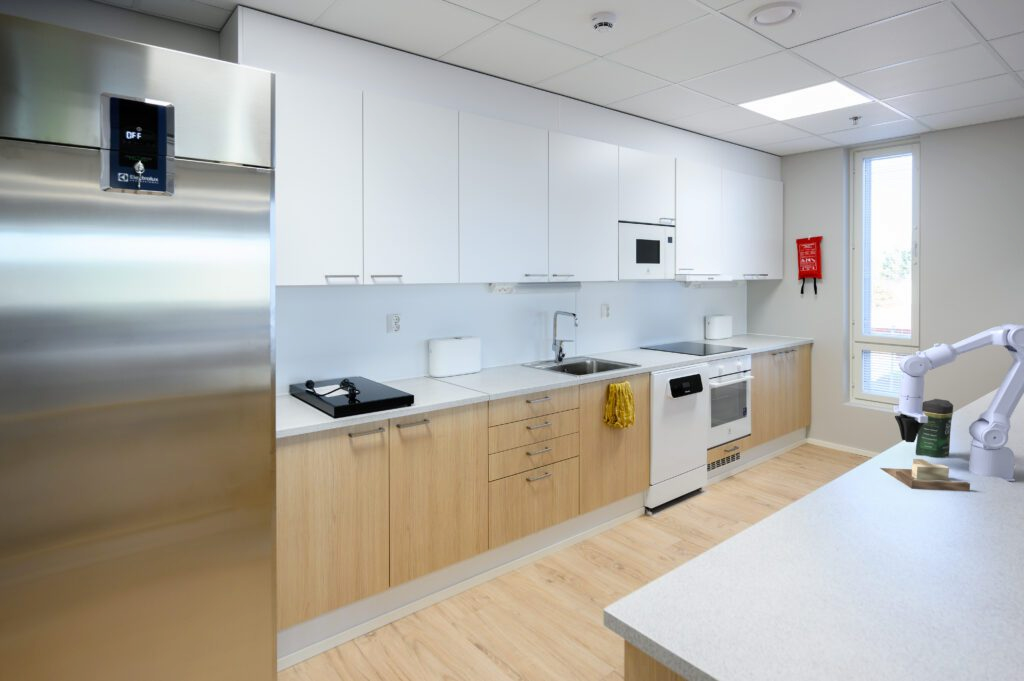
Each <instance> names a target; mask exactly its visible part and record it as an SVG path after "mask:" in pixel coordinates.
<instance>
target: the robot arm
mask: <svg viewBox="0 0 1024 681" xmlns="http://www.w3.org/2000/svg"><path fill="white" fill-rule="evenodd" d="M990 345H991V346H1001V347H1002V346H1003V347H1004V348H1005V349H1007V351H1008V353H1009V354H1010V356H1011V357H1012V358H1013V362H1012V363H1011V365H1010V367H1009V369H1008V371H1007V372H1006V374H1005V377H1004V378H1003V380H1002V381H1001V383H1000V385H999V387H998V389H997V391H996V393H995V395H994V396H993V398H992V400H991V402H990V404H989V406H988V407H987V409H986V410H985V411H984V412H982V413H980V415H979V416H978V418H977V419H975V420H974V421H972V422H971V423H970V425H969V427H968V433H969V434H970V436H971V438H972V440H971V441H970V450H969V462H968V471H969V472H970V473H972V474H976V475H978V476H979V475H980V476H985V477H990V478H991V477H993V478H995V477H997V478H1001V479H1003V480H1004V481H1007V482H1015V481H1016V479H1015V478H1014V473H1015V472H1014V471H1015V462H1016V461H1015V460H1016V459H1015V454H1014V451H1013V450H1012V449H1011V448H1010V447H1007V446H1006V445H1007V443H1008V440H1009V431H1010V429H1011V420H1010V418H1011V417H1012V415H1013V413H1014V412H1015V410H1016V408H1017V406H1018V404H1019V402H1020V400H1021V399H1022V398H1023V395H1024V325H1022V324H1021V325H1020V324H1015V323H1010V322H1009V323H1008V322H1007V323H1002V325H1000V326H998V325H997V326H994V327H991V328H989V329H985V330H984V331H981V332H979V333H977V334H975V335H972V336H969V337H966V338H965V339H962V340H960V341H957V342H955V343H953V344H949V343H948V344H947V343H937V342H936V343H934V344H933V347H930V348H928V349H925V350H922V351H920V350H917V351H916V352H915V354H908V355H905V356H904V357H902V359H901V360H900V362H899V363H898V367H899V369H900V370H901V374H900V375H901V377H900V378H901V379H900V382H899V383H900V384H899V385H900V386H899V400H898V401H899V402H898V405H895V404H894V405H893V412H894V413H897V414H899V415H894V419H895V421H896V422H897V424H898V427H899V428H898V429H899V432H900V437H901V440H902V441H905V442H906V443H915V441H916V440H917V435H918V432H919V430H920V428H921V427H922V426H923V424H924V423H927V422H928V416H926V415H925V414H924V413H923V412H922V406H923V402H924V391H925V390H924V388H925V375H926V374H927V373H928V371H932V370H934V369H937V368H940V367H943V366H946V365H947V364H951V363H953V362H955V360H956V359H957V357H958V356H959V355H960V356H961V355H962V354H965V353H969V352H971V351H973V350H977V349H981V348H984V347H987V346H990Z"/></svg>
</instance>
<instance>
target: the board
mask: <svg viewBox="0 0 1024 681" xmlns="http://www.w3.org/2000/svg"><path fill="white" fill-rule="evenodd" d="M879 469H880V470H881V471H883V472H885V473H887V474H888V475H890V476H891V477H893V478H894V479H896V480H897V481H899V482H900V483H902V484H904V485H905V486H906V487H908V488H910V489H911V490H912V489H915V490H930V491H932V490H934V491H954V492H970V491H971V483H970V482H968V481H953V480H950V479H948V480H930V479H916V478H914V477H913V476H912V468H890V467H889V468H888V467H879Z"/></svg>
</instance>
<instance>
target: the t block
mask: <svg viewBox="0 0 1024 681" xmlns="http://www.w3.org/2000/svg"><path fill="white" fill-rule="evenodd" d="M911 469H912V476H913V477H914V478H916V479H930V480H949V473H950V467H949V466H946V465H944V464H932V463H931V462H929V461H927V460H925V459H923V458H913V460H912V466H911Z"/></svg>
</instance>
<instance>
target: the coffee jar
mask: <svg viewBox="0 0 1024 681" xmlns="http://www.w3.org/2000/svg"><path fill="white" fill-rule="evenodd" d="M922 412H923V413H924V414H925V415H926V416H928V422H927V423H924V424H923V426H922V427H921V428H920V430H919V432H918V434H917V436H916V444H915V445H916V446H915V456H920V457H921V456H922V457H924V456H925V457H929V458H935V459H942V458H946V457H950V447H951V446H950V444H951V431H952V420H953V419H952V418H953V414H954V405H953V403H952V402H950V401H949V400H948V399H947V400H946V399H942V398H941V399H939V398H933V399H930V400H925V401H923V406H922Z"/></svg>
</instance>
